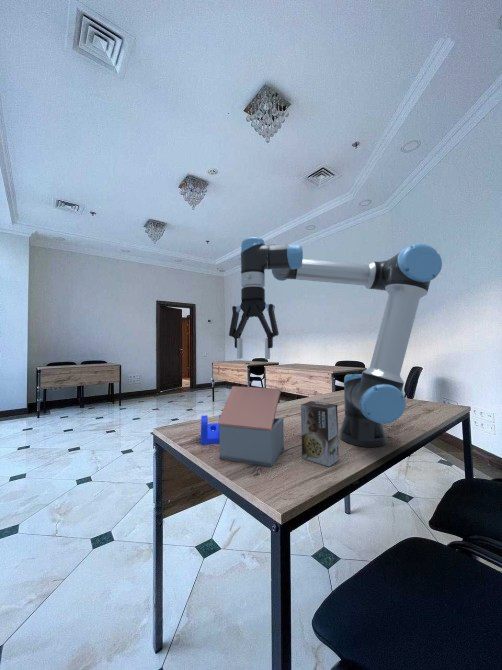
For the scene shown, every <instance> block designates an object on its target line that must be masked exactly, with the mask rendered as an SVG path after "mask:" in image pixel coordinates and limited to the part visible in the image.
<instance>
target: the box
mask: <svg viewBox="0 0 502 670" xmlns="http://www.w3.org/2000/svg"><path fill="white" fill-rule="evenodd" d="M219 431H220V444H219V459H220V460H224V461H230V462H231V461H232V462H237V463H243V464H250V465H255V466H256V465H257V466H262V467H269V468H272V467H273V466H274V464H275V462H276V460H277V459H278V458H279V457H280V455H281V453H282V452H283V451H284V450H285V449H284V448H285V447H284V445H285V442H284V441H285V440H284V435H285V433H284V418H283V417H275V418H274V422H273V427H272V431H269V430H260V429H251V428H242V427H233V426H224V425H220V426H219Z"/></svg>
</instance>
